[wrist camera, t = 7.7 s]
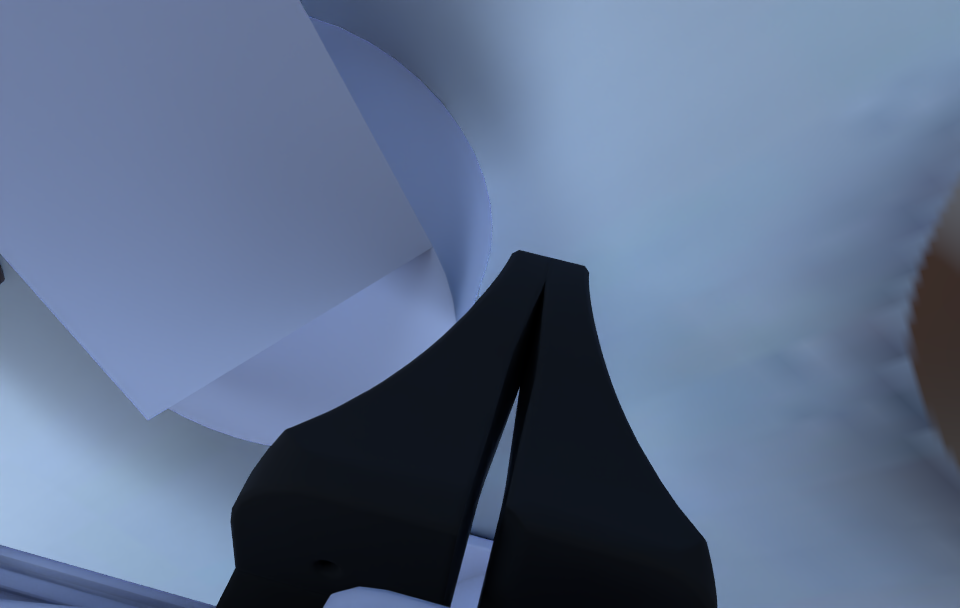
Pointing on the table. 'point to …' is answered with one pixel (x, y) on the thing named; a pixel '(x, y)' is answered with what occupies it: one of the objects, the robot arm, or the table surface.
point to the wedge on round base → (233, 203)
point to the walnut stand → (1, 276)
